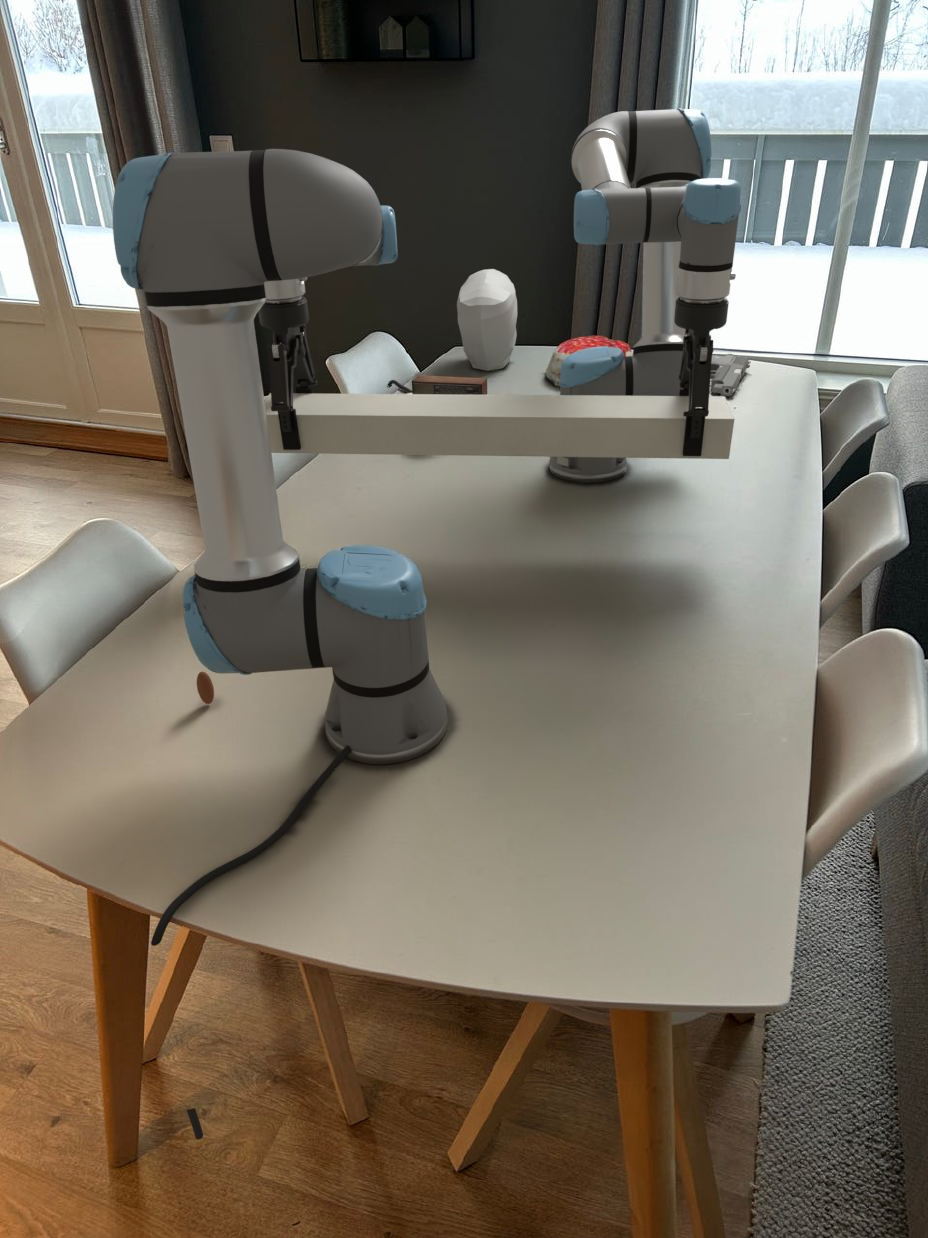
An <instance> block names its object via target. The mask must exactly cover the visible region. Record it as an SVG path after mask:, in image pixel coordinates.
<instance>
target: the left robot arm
mask: <svg viewBox="0 0 928 1238" xmlns="http://www.w3.org/2000/svg"><path fill="white" fill-rule="evenodd" d="M117 177H118V178H117V179H116V184H115V188H114V193H113V201H112V233H113V234H112V235H113V243H114V250H115V251H114V252H115V256H116V261H117V264H118V265H120V273H121V276H122V277H121V278H122V279H123V281H124V282H125V283H126V284H127V286H128V287H130V288H132V289H136V290H137V291H144V296H145V301H146V306H147V309H148V310H149V311H150V312H151V313H152V314H153V315H154V316H156V317H157V318H158V319H159V320H161V321H162V322H163V323H164V325H165V326H166V330H167V335H168V341H169V347H170V352H171V359H172V365H173V371H174V376H175V383H176V388H177V389H176V390H177V393H178V399H179V405H180V411H181V416H182V417H181V418H182V423H183V429H184V434H185V440H186V446H187V451H188V457H189V463H190V469H191V475H192V481H193V487H194V491H195V492H194V493H195V499H196V504H197V510H198V515H199V522H200V527H201V533H202V540H203V544H204V551H203V552H202V553H201V555H200V556H199V557H198V558H197V560H196V561H195V562H194V564H193V572H194V574H193V575H192V576H189V578H188V579H186V581H185V583H184V585H183V589H182V606H183V608H184V609H183V610H184V613H183V619H184V625H185V629H186V633H187V636H188V639H189V642H190V645H191V648H192V650H193V652H194V654H195V656H196V658H197V659H198V661H199V662H200V664H201V665H203V666H204V667H205V668H207V670H209V671H210V672H212V673H215V674H222V675H223V674H225V675H226V674H240V675H243V676H246V675H247V676H248V675H251V674H257V673H259V674H260V673H270V672H283V671H285V672H287V671H296V670H297V671H299V670H310V669H311V670H312V669H325V668H331V671H332V677H333V681H332V685H331V689H330V692H329V697H328V701H327V705H326V710H325V715H324V727H325V728H324V729H325V733H326V738H327V741H328V743H329V745H330V746H331V748H333V749H334V750H335V751H336V752H337V753H338V754H337V756H336V757H335V758H334V759H333V760H332V761H331V762H330V764H328V766H327V767H326V769H325V770H323V771H322V773H321V774H320V775H319V776H318V777H317V779H316V780H315V781H314V782H313V783H312V784H311V786H310V787H309V788H308V789H307V791H306V792H305V793H304V795H303V796H302V797H301V799H300V800H299V802H298V803H297V804H296V806H295V807H294V808H293V810H292V812H291V813H290V814H289V815H288V817H287V818H286V819H285V820H284V822H283V823H282V824H281V825H280V826H279V827H278V828H277V829H276V830H275V831H274V832H273V833H272V834H271V835H269V837H267V838H266V839H265V840H263V842H261V843H260V844H258V845H257V846H255V847H254V848H252V849H250V850H249V851H247V852H245V853H243V854H242V855H239V856H237V857H235V858H234V859H232V860H230V861H227V862H225V863H223V864H222V865H219V866H218V867H215V868H214V869H212V870H211V871H209V872H207V873H205V874H203V876H201V877H199V878H198V879H197V880H196V881H194V882H193V883H192V884H191V885H189V886H188V887H187V888H186V889H185V890H184V891H182V892H181V893H180V894H179V895H178V896H177V897H176V898H175V899H174V900H173V901H172V902H171V903H170V904H169V905H168V906H167V908H166V909H165V911H164V912H163V913H162V915H161V917H162V918H161V917H160V918H159V921H158V923H157V925H156V927H155V929H154V931H153V934H152V938H151V942H150V945H151V946H152V947H156V946H158V945H159V944H161V942H162V940H163V937H164V935H165V932H166V929H167V928H168V925H169V923H170V922H171V920H172V918H173V916H174V915H175V914H176V912H177V911H178V910H179V908H181V907H182V906H183V905H184V904H185V903H186V902H187V901H188V900H189V899H191V898H192V897H193V896H194V895H195V894H196V893H197V892H198V891H200V890H201V889H202V888H204V887H205V886H206V885H208V884H209V883H211V882H212V881H214V880H216V879H218V878H219V877H220V876H223V875H224V874H227V873H229V872H230V871H233V870H234V869H237V868H238V867H241V866H242V865H244V864H246V863H248V862H251V861H252V860H253V859H255V858H257V857H258V856H260V855H262V854H263V853H264V852H266V851H268V850H269V849H270V848H271V847H272V846H273V845H275V844H276V843H277V842H278V841H279V840H280V839H281V838H282V837H283V836H284V835H285V834H286V833H287V832H288V831H289V830H290V829H291V827H292V826H293V825H294V824H295V822H296V821H297V820H298V818H299V817H300V816H301V815H302V813H303V811H304V810H305V808H306V807H307V806H308V804H309V803H310V801H311V800H312V799H313V798H314V796H315V795H316V794H317V792H318V791H319V790H320V789H321V788H322V786H323V785H324V784H325V783H326V781H327V780H328V779H329V778H330V777H331V776H332V775H333V773H334V772H335V771H336V770H337V768H339V767H340V765H341V764H342V763H343V762H344V760H346V759H349V760H352V761H355V762H358V763H363V764H368V765H390V764H391V765H392V764H398V763H402V762H406V761H409V760H412V759H415V758H417V757H420V756H422V755H424V754H426V753H427V752H429V751H430V750H432V749H433V748H434V747H436V746H437V745H438V743H440V742H441V740H442V739H443V738H444V736H445V734H446V732H447V729H448V725H449V720H448V719H449V717H448V707H447V705H446V701H445V697H444V696H443V694H442V691H441V689H440V688H439V686H438V683H437V682H436V679H435V678H434V675H433V673H432V671H431V669H430V659H429V657H430V656H429V655H430V654H429V645H428V631H427V621H426V609H427V597H426V594H425V592H424V585H423V578H422V573H421V571H420V569H419V567H418V566H417V565H416V563H415V562H414V561H413V560H411V559H410V558H409V557H407V556H405V555H403V554H401V553H400V552H399V551H396V550H394V549H391V548H387V547H383V546H378V545H370V544H369V545H366V544H361V545H360V544H356V545H347V546H342V547H340V549H339V550H338V549H333V550H330V551H329V552H327V553H325V554H324V555H323V556H322V557H321V559H320V560H319V563H318V565H317V567H311V568H310V567H308V568H302V567H301V562H300V561H301V560H300V554H299V552H298V550H297V549H296V548H295V547H293V546H292V545H290V544H289V543H288V542H287V541H285V540H284V537H283V528H282V522H281V521H282V520H281V514H280V513H281V512H280V506H279V499H278V491H277V483H276V476H275V470H274V462H273V453H271V446H270V438H269V431H268V424H267V416H266V409H265V401H264V400H265V395H264V394H265V393H264V387H263V381H262V380H263V379H262V373H261V365H260V357H259V350H258V342H257V336H256V335H257V334H256V328H255V318H256V316H257V314H258V318H259V323H260V326H262V328H265V329H269V330H271V331H272V339H271V343H267V345H266V350H267V357H268V368H269V383H270V393H271V401H272V407H271V410H272V411H278V417H279V424H280V430H281V437H282V444H283V450H300V449H301V444H300V437H299V430H298V423H297V416H296V409H293V393H294V380H295V383H296V385H297V386H296V387H295V393H307V394H314V389H313V386H314V387H315V386H317V385H318V379H317V378H316V373H315V369H314V365H313V364H314V363H313V360H312V355H311V351H310V345H309V342H308V341H309V340H308V337H307V329H306V328H307V327H306V325H307V323H308V322H309V321H310V315H309V307H308V299H307V298H306V297H305V296H304V295H305V294H306V285H305V282H306V281H307V280H308V278H311V277H314V276H319V275H323V274H326V273H331V272H335V271H337V270H342V269H346V268H347V269H348V268H351V267H358V266H359V267H361V266H362V267H363V266H379V265H386V264H392V263H395V262H396V261H397V259H398V255H399V254H398V239H397V238H398V236H397V225H396V224H397V223H396V214H395V209H393V207H391V206H390V205H381V203H380V200H379V198H378V196H377V194H376V192H375V190H374V189H373V187H372V186H371V185H370V184H369V182H368V181H367V180H366V179H364V178H363V177H362V176H361V175H360V174H359V173H358V172H356V171H355V170H353V169H351V168H349V167H347V166H346V165H344V164H342V163H339V162H337V161H334V160H331V159H329V158H327V157H324V156H320V155H317V154H314V153H310V152H305V151H301V150H296V149H286V148H266V149H263V150H262V149H261V150H260V149H259V150H242V151H241V150H234V151H233V150H232V151H196V152H194V151H192V152H191V151H190V152H173V151H171V152H167V153H162V154H155V155H148V156H147V155H146V156H141V157H136V158H133V159H131V160H130V161H128V162H126V163H125V165H124V166H123V167H122V169H121V170H120V172H119V174H118V176H117ZM281 402H283V403H281ZM186 1113H187V1115H188V1119H189V1121H190V1124H191V1127H192V1131H193V1134H194V1137H195V1140H198V1141H199V1140H202V1138H203V1137H204V1132H203V1129H202V1125H201V1122H200V1119H199V1115H198V1112H197V1110H196V1108H195V1107H193V1108H190V1109H189V1108H187V1109H186Z"/></svg>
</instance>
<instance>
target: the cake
mask: <svg viewBox="0 0 928 1238" xmlns="http://www.w3.org/2000/svg"><path fill="white" fill-rule="evenodd" d="M600 346H608V347H617V348H620V349H621V350H622V351H623V354H624V356H633V349H632V348H631V347H630V345H629V344H628V343H626V342H625V341H623V340H620V339H619V340H618V339H610V338H608V336H607V337H606V336H603V335H587V336H578V337H575V338H570V339H568V340H565V341H564V342H562V343H560V344H559V345H558V346H556V348H554V351H553V352H552V355H551V357H550V359H549V362H548V364H547V368H546V369H545V373H546V375H545V377H546V378H547V380H549V381H550V382H551V383H553V385H554V386H556V387H560V386H559V380H560V375H561V365H562V362H563V360H564V359H565V358H566V357H567V356H569V355H570V354H572V353H574V352H577V351H579V350H583V349H587V348H592V347H600Z"/></svg>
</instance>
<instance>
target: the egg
mask: <svg viewBox="0 0 928 1238" xmlns="http://www.w3.org/2000/svg"><path fill="white" fill-rule="evenodd" d="M196 689H197V694H198V695H199V698H200V700H201V701H202V702H203V703H204V704H206V705H210V704H211V703H212V702H213V701H214V699H215V688H214V683H213V680H212V679H211V677H210V675H209V674H208V673H207V672H206V671H200V672H199V673H198V674H197V677H196Z"/></svg>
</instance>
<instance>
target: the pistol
mask: <svg viewBox="0 0 928 1238" xmlns="http://www.w3.org/2000/svg"><path fill="white" fill-rule="evenodd" d="M751 362H752V361H751V360H750V358H749V357H747V356H741V355H736V354H734V353H727V354H725V355H717V354H716V355H715V354H712V361H711V375H710V392H712V393H714V394H720V396H725V397H732V396H733V394H734V392H736V389H737V387H738V386H739V384H740V380H741V379H742V378H743V377H744V374H745V373H746V371H747V369H749V368H751Z"/></svg>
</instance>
